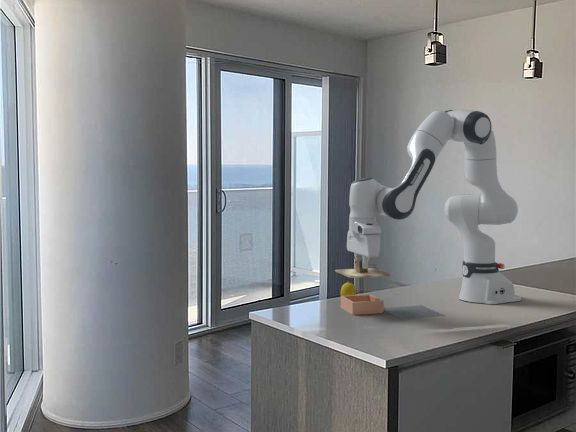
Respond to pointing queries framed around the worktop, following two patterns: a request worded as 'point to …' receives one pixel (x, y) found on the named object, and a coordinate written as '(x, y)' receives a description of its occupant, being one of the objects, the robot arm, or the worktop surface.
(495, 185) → the robot arm
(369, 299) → the salmon open box
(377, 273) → the lid
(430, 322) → the worktop surface
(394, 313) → the mat
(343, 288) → the lemon
